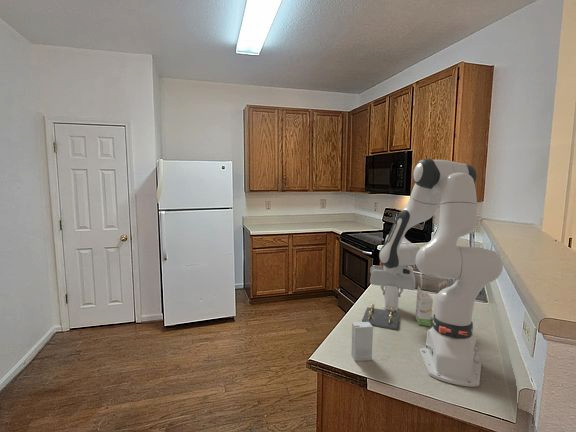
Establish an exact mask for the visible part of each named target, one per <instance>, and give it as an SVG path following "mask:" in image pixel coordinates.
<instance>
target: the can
mask: <svg viewBox="0 0 576 432" xmlns="http://www.w3.org/2000/svg"><path fill="white" fill-rule="evenodd" d="M384 290H385V294H384V295H383V308H384V310H388V311H391V307H394V312H397V310H399V302H400V301H399V298H400V297H398V294H399V292H400V288H397V287H396V286H391V285H388V284H387V286H384Z"/></svg>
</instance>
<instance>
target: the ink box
mask: <svg viewBox="0 0 576 432" xmlns="http://www.w3.org/2000/svg"><path fill="white" fill-rule="evenodd" d="M433 302H434V299H433V298H432V295H430V293H429V292H425V291H423V290H422V289H421V287H420V286H419V285H417V292H416V302H415V303H416V306H415V319H416V321H417V323H418V325H419V326H427V327H428V326H429V327H432V326H431V325H432V313H433Z"/></svg>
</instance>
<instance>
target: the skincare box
mask: <svg viewBox="0 0 576 432" xmlns="http://www.w3.org/2000/svg"><path fill="white" fill-rule="evenodd" d="M351 324H352V325H351V356H352V358H353V360H354V362H361V361H362V362H363V361H364V362H365V361H372V360H373V338H374V337H373V335H374V326H373V325H371V324H370V323H369V322H362V321H355V322H354V321H352V323H351Z"/></svg>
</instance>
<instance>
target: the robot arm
mask: <svg viewBox="0 0 576 432" xmlns="http://www.w3.org/2000/svg"><path fill="white" fill-rule="evenodd" d="M477 175H478V174H477V170H476V168H475V167H474V166H473V165H472V164H471V165H470V164H468V163H466V162H465V163H464V162H457V161H452V160H448V159H432V158H424V159H420V160H419V161H418V162H417V163H416V164H415V166H414V168H413V171H412V179H413V182H414V185H413V188H412V190H411V193H410V196H409V198H408V201H407V203H406V205H405V206H404V208H403V209H402V210H401V211H399V212H398V214H397V216H396V218H395V220H394V221H393V224H392V226H391V228H390V231H389V233H388V234H387V235H386V237H385V239H384V240H385V241H384V243H383V245H382V246H381V248H380V249H379V253H378V258H379V259H378V260H379V261H380V262H381V264H382V265H372V266H371V267H370V268H369V272H370V279H369V283H370V285H372V286H373V285H374V286H380V290H381V291H382V295H383V296H384V294H385V286H387V284H388V285H391V286H396V287H397V288H399V294H398V297H399V298H401V295H402V293H403V292H404V290H411V291H414V290H416V276H415V273H414V268H413V267H412V266H414V265H416V268H417V269H418V272H419V273H421V275H425V276H428V277H431V278H436V279H437V278H438V279H446V280H455V281H454V283H453V284H452V285H450V286H447V287H445V288H443V289H441V290H440V291H439V292H438V293H437V294H436V296H435V309H434V310H435V311H434V314H433V316H432V317H433V318H432V326H431V328H430V329H428V330H427V333H426V343H425V347H421V348H420V349H419V354H420V356H421V359H422V361H423V363H424V365H425V369H426V371H427V374H428V376H430V377H432V378H434V379H436V380H439V381H441V382H444V383H448V384H454V385H456V386H463V387H468V388H469V387H470V388H473V387H474V388H475V387H479V386H480V383H481V375H482V373H481V372H482V361H481V360H480V359H481V355H479V354H475V353H476V352H478V350H479V347H478V346H477V345H476V341H477V339H476V337H475V336H474V335H473V333H474V332H473V331H474V322H473V321H472V320H473V310H474V305H475V301H476V299H477V297H478V295H479V293H480V292H481V291H482V290H483V289H484V288H485V287H486V286H487V285H488V284H490V283H491V282H493V281H495V280H498V278H499V277H500V276H501V274H502V272H503V267H504V264H503V260H502V258H501V256H500V255H499V253H497V252H496V251H495V250H493V249H488V248H485V247H484V248H483V247H474V246H459V245H457V242H458V239H460V238H462V237H465V236H466V235H469V234H471V233H473V232H474V231H475V230H476V228H477V225H478V223H477V222H478V221H477V219H478V218H477V217H478V216H477V215H478V209H477V208H478V206H477V205H478V202H477V201H478V200H477V199H478V198H477V190H476V185H475V184H476V182H477V179H478V178H477V177H478V176H477ZM438 206H439V219H438V225H437V229H436V232H435V234H434V235H433V237H432V238H431V239H430V241H428V242H427V243H426V244H424V245H423V246H421V247H419V246H418V245H417V244H415V243H412V242H411V241H409V240H408V239H407V238H406V237H405V235H406V233H407V232H408V230H410V229H411V228H412V227H414V226H416V225H418V224H420V223H423V222H427V221H428V220H430V219H431V218H432V217H434V215H435V213H436V212H437V209H438Z"/></svg>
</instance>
